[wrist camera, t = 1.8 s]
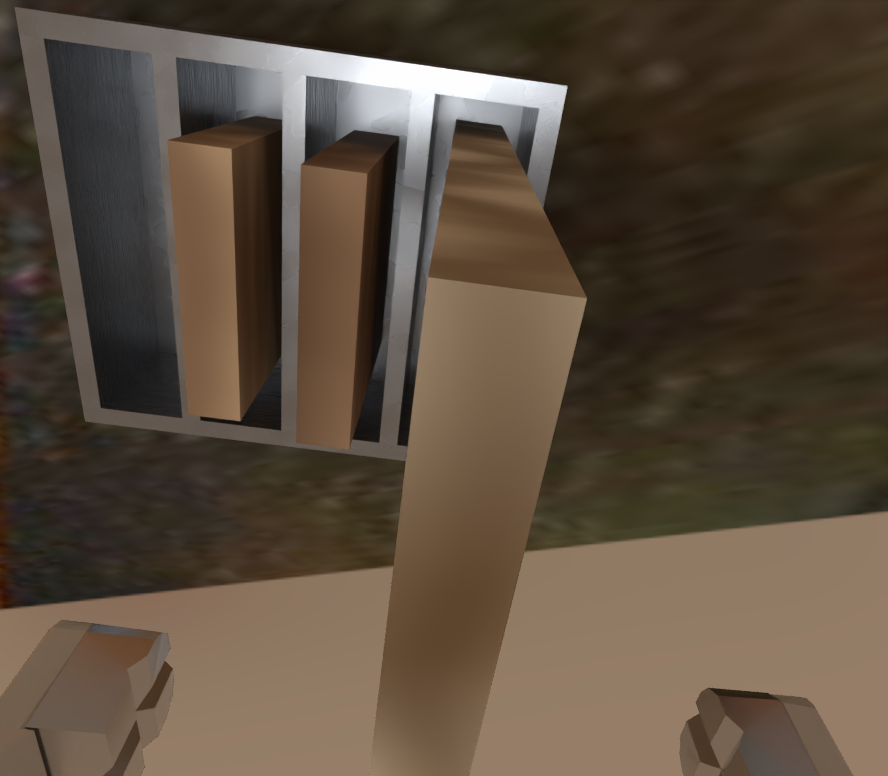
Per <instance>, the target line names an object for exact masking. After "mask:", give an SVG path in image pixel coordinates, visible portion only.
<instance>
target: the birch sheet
mask: <svg viewBox="0 0 888 776" xmlns="http://www.w3.org/2000/svg"><path fill="white" fill-rule="evenodd" d="M586 301H587V297H586V295H585V293H584V291H583V289H582V287H581V285H580V283H579V281H578V279H577V277H576V275H575V273H574V271H573V269H572V267H571V265H570V263H569V261H568V259H567V257H566V254H565V252H564V250H563V248H562V246H561V244H560V242H559V240H558V238H557V236H556V234H555V232H554V230H553V228H552V226H551V224H550V222H549V220H548V218H547V216H546V214H545V212H544V210H543V208H542V206H541V204H540V202H539V200H538V198H537V196H536V194H535V192H534V190H533V188H532V186H531V184H530V182H529V180H528V177H527V175H526V173H525V171H524V169H523V167H522V165H521V163H520V161H519V159H518V157H517V155H516V153H515V151H514V149H513V147H512V145H511V143H510V141H509V139H508V137H507V135H506V133H505V131H504V129H503V127H502V126H501V125H494V124H487V123H480V122H472V121H465V120H458V119H456V125H455V130H454V136H453V141H452V147H451V152H450V158H449V163H448V169H447V174H446V180H445V185H444V191H443V196H442V202H441V207H440V213H439V218H438V224H437V229H436V235H435V240H434V246H433V251H432V257H431V262H430V268H429V273H428V280H427V288H426V297H425V305H424V314H423V322H422V331H421V339H420V348H419V356H418V365H417V373H416V381H415V390H414V398H413V407H412V415H411V424H410V432H409V441H408V449H407V458H406V466H405V475H404V483H403V491H402V500H401V508H400V517H399V525H398V534H397V542H396V551H395V559H394V568H393V577H392V585H391V594H390V601H389V610H388V619H387V627H386V635H385V644H384V653H383V661H382V669H381V678H380V687H379V695H378V704H377V712H376V720H375V729H374V737H373V745H372V754H371V763H370V771H369V776H469V774H470V770H471V765H472V761H473V757H474V753H475V749H476V745H477V741H478V737H479V733H480V729H481V725H482V721H483V717H484V713H485V709H486V705H487V700H488V696H489V693H490V689H491V685H492V681H493V677H494V673H495V669H496V664H497V660H498V656H499V652H500V648H501V644H502V640H503V636H504V632H505V628H506V624H507V620H508V616H509V612H510V608H511V604H512V600H513V596H514V591H515V588H516V584H517V579H518V576H519V571H520V567H521V563H522V559H523V555H524V551H525V547H526V543H527V539H528V535H529V531H530V527H531V523H532V519H533V515H534V511H535V507H536V503H537V499H538V495H539V491H540V487H541V483H542V479H543V475H544V471H545V466H546V462H547V458H548V454H549V450H550V446H551V442H552V438H553V434H554V430H555V426H556V422H557V418H558V414H559V410H560V406H561V402H562V398H563V394H564V390H565V386H566V382H567V378H568V374H569V369H570V365H571V361H572V357H573V353H574V349H575V345H576V341H577V337H578V333H579V329H580V325H581V321H582V317H583V313H584V309H585V305H586Z"/></svg>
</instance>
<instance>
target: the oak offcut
mask: <svg viewBox="0 0 888 776" xmlns="http://www.w3.org/2000/svg"><path fill="white" fill-rule="evenodd" d="M167 146H168V159H169V171H170V184H171V197H172V210H173V222H174V235H175V248H176V261H177V274H178V286H179V299H180V312H181V325H182V337H183V350H184V363H185V376H186V388H187V401H188V414H189V415H194V416H202V417H210V418H218V419H226V420H234V421H241V420H242V418H243V416H244V415H245V413H246V411H247V410H248V408H249V407H250V405H251V403H252V402H253V400H254V399H255V397H256V395H257V394H258V392H259V391H260V389H261V387H262V386H263V384H264V383H265V381H266V379H267V378H268V376H269V375H270V373H271V371H272V370H273V368H274V367H275V365H276V363H277V362H278V360H279V359H280V357H281V355H282V120H280V119H273V118H266V117H259V116H252V117H249V118H245V119H242V120H238V121H234V122H231V123H227V124H224V125H220V126H216V127H213V128H209V129H206V130H202V131H198V132H195V133H191V134H188V135H184V136H180V137H177V138H173V139H170V140H167Z"/></svg>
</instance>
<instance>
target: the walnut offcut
mask: <svg viewBox="0 0 888 776" xmlns="http://www.w3.org/2000/svg"><path fill="white" fill-rule="evenodd" d="M398 148H399V136H395V135H388V134H381V133H374V132H367V131H359V130H353V131H352V132H350V133H349V134H347V135H346V136H344V137H342V138H341V139H339V140H338V141H336V142H335V143H333V144H332V145H330V146H329V147H327V148H325V149H324V150H322V151H321V152H319V153H318V154H316V155H315V156H313V157H312V158H310V159H308V160H307V161H305V162H304V163H302V164H301V176H300V236H299V295H298V355H297V414H296V443H299V444H308V445H316V446H324V447H332V448H340V449H348V450H349V449H350V446H351V442H352V439H353V436H354V432H355V429H356V426H357V422H358V419H359V416H360V412H361V409H362V406H363V402H364V399H365V396H366V393H367V389H368V386H369V383H370V379H371V376H372V373H373V369H374V366H375V363H376V359H377V356H378V353H379V349H380V346H381V343H382V333H383V322H384V310H385V298H386V287H387V275H388V264H389V252H390V241H391V229H392V217H393V206H394V194H395V183H396V171H397V159H398Z"/></svg>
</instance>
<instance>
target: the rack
mask: <svg viewBox="0 0 888 776" xmlns="http://www.w3.org/2000/svg"><path fill="white" fill-rule="evenodd" d="M15 12H16V18H17V24H18V30H19V36H20V42H21V47H22V53H23V59H24V65H25V71H26V77H27V83H28V88H29V94H30V100H31V106H32V112H33V118H34V124H35V130H36V135H37V141H38V147H39V153H40V159H41V165H42V171H43V177H44V182H45V188H46V194H47V200H48V206H49V212H50V218H51V223H52V229H53V235H54V241H55V247H56V253H57V259H58V265H59V270H60V276H61V282H62V288H63V294H64V300H65V306H66V312H67V317H68V323H69V329H70V335H71V341H72V347H73V353H74V358H75V364H76V370H77V376H78V382H79V388H80V394H81V400H82V405H83V411H84V417H85V421H87V422H95V423H103V424H111V425H119V426H127V427H135V428H144V429H152V430H160V431H168V432H176V433H184V434H192V435H200V436H208V437H216V438H224V439H232V440H240V441H249V442H257V443H265V444H273V445H281V446H289V447H297V448H305V449H313V450H321V451H329V452H337V453H345V454H354V455H362V456H370V457H378V458H386V459H394V460H402V461H406V458H407V449H408V441H409V432H410V424H411V415H412V407H413V398H414V390H415V381H416V373H417V365H418V356H419V348H420V339H421V331H422V322H423V314H424V305H425V297H426V288H427V280H428V273H429V268H430V262H431V257H432V251H433V246H434V240H435V235H436V229H437V224H438V218H439V213H440V207H441V202H442V196H443V191H444V185H445V180H446V174H447V169H448V163H449V158H450V152H451V147H452V141H453V136H454V130H455V125H456V119H458V120H465V121H472V122H480V123H487V124H494V125H501V126H502V127H503V129H504V131H505V133H506V135H507V137H508V139H509V141H510V143H511V145H512V147H513V149H514V151H515V153H516V155H517V157H518V159H519V161H520V163H521V165H522V167H523V169H524V171H525V173H526V175H527V177H528V180H529V182H530V184H531V186H532V188H533V190H534V192H535V194H536V196H537V198H538V200H539V202H540V204H541V206H542V208H543V207H544V202H545V197H546V192H547V187H548V182H549V177H550V172H551V167H552V162H553V157H554V152H555V147H556V142H557V137H558V132H559V127H560V122H561V117H562V111H563V106H564V101H565V96H566V91H567V86H566V85H562V84H559V83H556V82H552V81H549V80H546V79H540V78H533V77H526V76H519V75H512V74H505V73H498V72H491V71H484V70H477V69H470V68H463V67H456V66H449V65H442V64H435V63H428V62H421V61H414V60H407V59H400V58H393V57H386V56H379V55H372V54H365V53H358V52H351V51H344V50H337V49H330V48H323V47H316V46H309V45H302V44H295V43H288V42H281V41H274V40H267V39H260V38H253V37H246V36H239V35H232V34H225V33H218V32H211V31H204V30H197V29H190V28H183V27H176V26H169V25H162V24H155V23H148V22H141V21H134V20H127V19H119V18H110V17H100V16H91V15H82V14H73V13H64V12H55V11H45V10H36V9H27V8H18V7H15ZM252 116H259V117H266V118H273V119H280V120H282V355H281V357H280V359H279V360H278V362H277V363H276V365H275V367H274V368H273V370H272V371H271V373H270V375H269V376H268V378H267V379H266V381H265V383H264V384H263V386H262V387H261V389H260V391H259V392H258V394H257V395H256V397H255V399H254V400H253V402H252V403H251V405H250V407H249V408H248V410H247V411H246V413H245V415H244V416H243V418H242V420H241V421H234V420H226V419H218V418H210V417H202V416H194V415H189V414H188V401H187V388H186V376H185V363H184V350H183V337H182V325H181V312H180V299H179V286H178V274H177V261H176V248H175V235H174V222H173V210H172V197H171V184H170V171H169V159H168V146H167V140H170V139H173V138H177V137H180V136H184V135H188V134H191V133H195V132H198V131H202V130H206V129H209V128H213V127H216V126H220V125H224V124H227V123H231V122H234V121H238V120H242V119H245V118H249V117H252ZM353 130H359V131H367V132H374V133H381V134H388V135H395V136H399V148H398V159H397V171H396V183H395V194H394V206H393V217H392V229H391V241H390V252H389V264H388V275H387V287H386V298H385V310H384V322H383V333H382V343H381V346H380V349H379V353H378V356H377V359H376V363H375V366H374V369H373V373H372V376H371V379H370V383H369V386H368V389H367V393H366V396H365V399H364V402H363V406H362V409H361V412H360V416H359V419H358V422H357V426H356V429H355V432H354V436H353V439H352V442H351V446H350V449H349V450H348V449H340V448H332V447H324V446H316V445H308V444H299V443H296V414H297V355H298V295H299V236H300V176H301V164H302V163H304V162H305V161H307V160H308V159H310V158H312V157H313V156H315V155H316V154H318V153H319V152H321V151H322V150H324V149H325V148H327V147H329V146H330V145H332V144H333V143H335V142H336V141H338V140H339V139H341V138H342V137H344V136H346V135H347V134H349V133H350V132H352V131H353Z"/></svg>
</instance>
